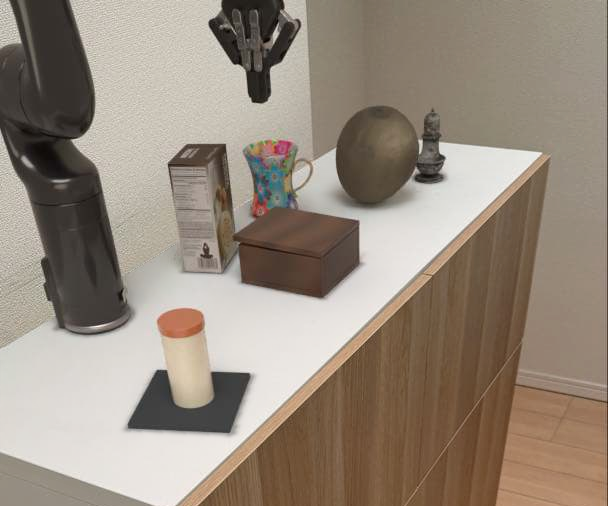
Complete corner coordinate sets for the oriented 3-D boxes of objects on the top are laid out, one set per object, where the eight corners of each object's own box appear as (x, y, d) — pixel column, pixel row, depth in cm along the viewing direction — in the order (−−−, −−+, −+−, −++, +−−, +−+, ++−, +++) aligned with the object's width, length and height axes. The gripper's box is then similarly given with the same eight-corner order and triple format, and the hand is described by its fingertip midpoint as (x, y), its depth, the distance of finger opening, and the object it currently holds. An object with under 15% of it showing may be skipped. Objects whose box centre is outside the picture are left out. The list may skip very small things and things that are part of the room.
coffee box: (201, 248, 126) (186, 142, 115) (238, 249, 125) (227, 142, 114) (183, 272, 119) (166, 162, 108) (223, 274, 118) (209, 162, 107)
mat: (128, 428, 89) (127, 423, 89) (157, 373, 98) (156, 369, 97) (229, 432, 87) (229, 428, 87) (250, 376, 96) (249, 372, 95)
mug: (240, 221, 134) (234, 155, 126) (259, 201, 140) (254, 138, 133) (306, 226, 131) (303, 159, 123) (322, 206, 137) (320, 141, 130)
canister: (166, 408, 90) (151, 329, 84) (178, 384, 94) (164, 307, 87) (209, 409, 90) (197, 330, 83) (219, 385, 94) (208, 308, 87)
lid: (232, 241, 112) (232, 235, 111) (275, 210, 120) (275, 205, 119) (320, 258, 107) (320, 252, 106) (359, 225, 115) (359, 220, 114)
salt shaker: (408, 175, 146) (410, 105, 138) (436, 171, 147) (441, 101, 139) (420, 185, 142) (424, 113, 134) (449, 180, 143) (455, 109, 135)
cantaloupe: (340, 219, 132) (339, 123, 122) (332, 190, 142) (330, 100, 132) (422, 212, 132) (427, 116, 122) (408, 185, 143) (412, 94, 133)
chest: (241, 282, 116) (237, 244, 112) (282, 250, 124) (280, 213, 120) (322, 298, 111) (320, 258, 107) (359, 264, 119) (359, 226, 115)
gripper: (311, -65, 91) (316, 98, 103) (217, -65, 96) (233, 91, 108) (280, -57, 87) (289, 113, 99) (183, -57, 92) (203, 105, 103)
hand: (260, 101), depth 103 cm, fingers closed
